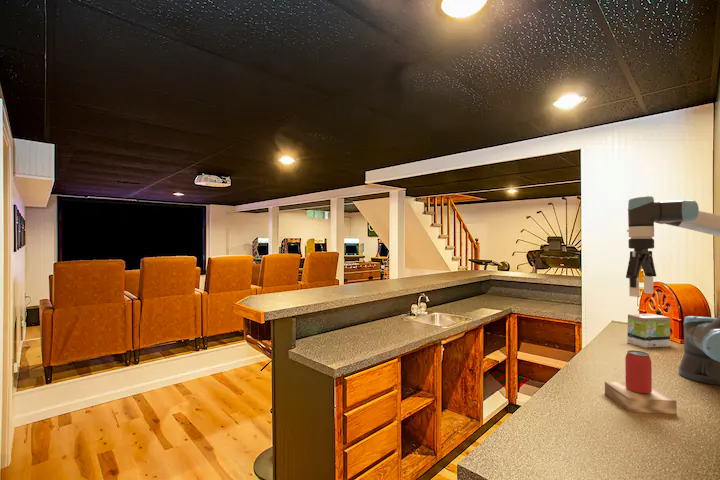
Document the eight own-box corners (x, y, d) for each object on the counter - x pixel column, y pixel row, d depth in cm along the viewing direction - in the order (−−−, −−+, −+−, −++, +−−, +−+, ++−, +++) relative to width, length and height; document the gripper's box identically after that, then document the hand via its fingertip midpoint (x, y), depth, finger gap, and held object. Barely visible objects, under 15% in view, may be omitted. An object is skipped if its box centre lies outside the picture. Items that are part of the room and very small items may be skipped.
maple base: (646, 395, 118) (646, 383, 118) (676, 414, 105) (676, 400, 105) (604, 393, 119) (604, 381, 119) (629, 411, 106) (629, 398, 107)
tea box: (646, 348, 170) (646, 318, 170) (626, 342, 180) (626, 313, 180) (671, 346, 173) (670, 316, 173) (650, 341, 183) (650, 312, 183)
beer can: (656, 395, 108) (656, 356, 108) (632, 394, 110) (632, 355, 110) (643, 387, 115) (643, 350, 115) (621, 385, 116) (620, 349, 116)
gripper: (642, 238, 141) (642, 291, 141) (614, 238, 128) (615, 296, 127) (665, 238, 135) (666, 293, 135) (639, 237, 121) (640, 299, 121)
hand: (641, 295), depth 131 cm, fingers open, 13 cm apart
